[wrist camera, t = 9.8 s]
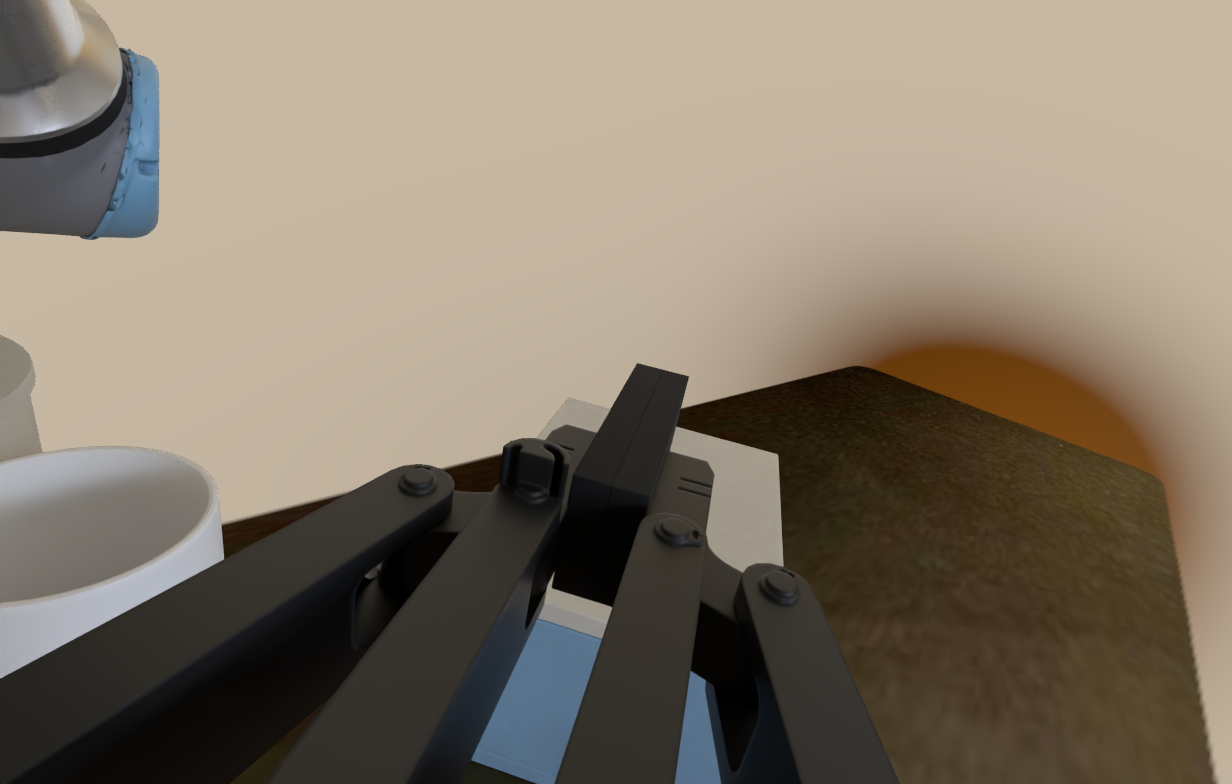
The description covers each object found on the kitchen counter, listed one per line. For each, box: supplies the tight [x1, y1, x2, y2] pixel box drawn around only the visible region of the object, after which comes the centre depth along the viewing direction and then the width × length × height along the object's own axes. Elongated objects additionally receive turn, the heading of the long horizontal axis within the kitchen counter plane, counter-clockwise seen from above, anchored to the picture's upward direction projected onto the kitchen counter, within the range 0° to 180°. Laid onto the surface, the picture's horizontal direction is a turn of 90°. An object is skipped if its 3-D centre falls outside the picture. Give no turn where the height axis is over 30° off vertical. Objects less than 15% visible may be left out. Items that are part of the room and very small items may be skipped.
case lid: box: [536, 398, 783, 639], centre depth 29 cm, size 16×13×1 cm
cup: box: [0, 446, 224, 678], centre depth 20 cm, size 8×12×10 cm
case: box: [471, 618, 721, 784], centre depth 30 cm, size 16×13×8 cm
